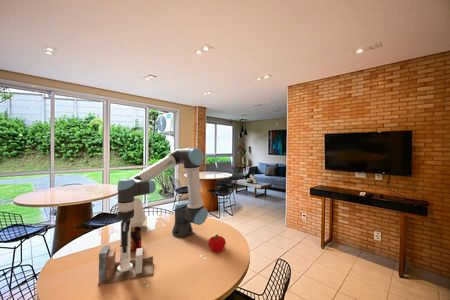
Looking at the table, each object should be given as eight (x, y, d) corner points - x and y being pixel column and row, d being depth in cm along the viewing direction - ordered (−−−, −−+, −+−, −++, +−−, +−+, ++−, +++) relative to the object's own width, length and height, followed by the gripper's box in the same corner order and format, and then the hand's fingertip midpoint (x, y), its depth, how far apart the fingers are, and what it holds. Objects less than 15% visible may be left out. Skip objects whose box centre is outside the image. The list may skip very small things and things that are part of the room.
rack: (152, 263, 111) (153, 238, 111) (153, 275, 100) (153, 247, 100) (103, 271, 102) (103, 244, 102) (97, 285, 92) (98, 255, 92)
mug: (140, 254, 120) (140, 234, 120) (120, 251, 123) (121, 231, 123) (150, 246, 129) (150, 228, 129) (131, 243, 133) (132, 225, 133)
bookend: (142, 264, 107) (142, 247, 107) (141, 272, 100) (142, 254, 100) (136, 265, 106) (136, 248, 106) (135, 274, 99) (135, 255, 99)
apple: (215, 244, 133) (215, 229, 133) (228, 249, 127) (228, 233, 127) (205, 251, 125) (205, 235, 125) (218, 256, 119) (218, 239, 119)
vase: (130, 223, 169) (130, 195, 169) (149, 224, 166) (150, 196, 166) (116, 231, 152) (117, 201, 151) (138, 233, 149) (138, 202, 149)
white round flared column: (116, 273, 96) (117, 220, 97) (117, 265, 102) (118, 216, 103) (132, 269, 98) (133, 218, 99) (132, 263, 105) (133, 214, 106)
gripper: (120, 205, 107) (119, 249, 107) (114, 215, 92) (113, 266, 92) (135, 204, 110) (134, 247, 110) (132, 214, 94) (131, 263, 94)
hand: (125, 256), depth 101 cm, fingers closed on white round flared column, 3 cm apart
